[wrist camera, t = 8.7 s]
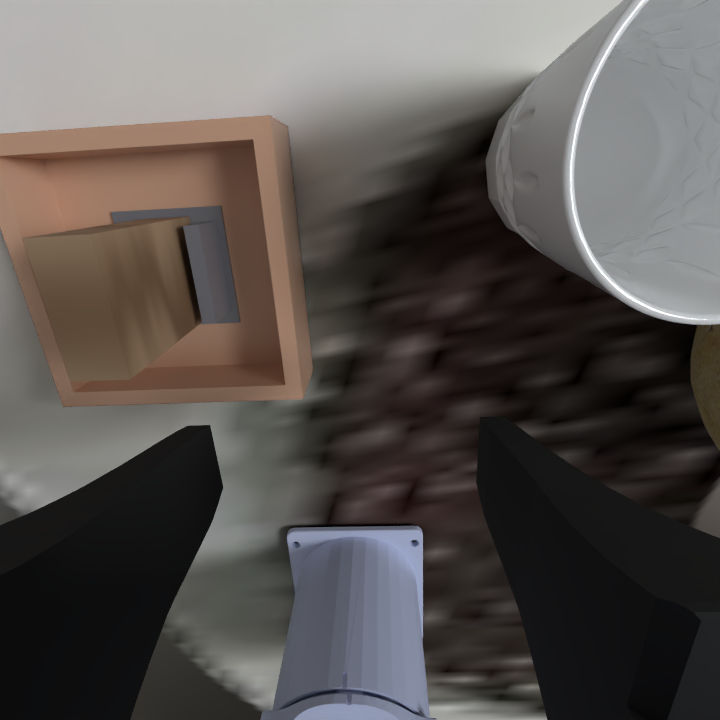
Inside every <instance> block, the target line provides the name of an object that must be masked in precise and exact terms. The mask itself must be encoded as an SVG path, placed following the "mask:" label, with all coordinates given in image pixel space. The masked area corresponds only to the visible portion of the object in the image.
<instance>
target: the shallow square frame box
mask: <svg viewBox="0 0 720 720" xmlns="http://www.w3.org/2000/svg"><path fill="white" fill-rule="evenodd" d="M187 216H189V218H190V223H191V224H189V225H185V226H183V228H184V233H185V238H186V243H187V248H188V253H189V258H190V264H191V269H192V274H193V279H194V284H195V289H196V294H197V299H198V304H199V309H200V314H201V319H202V323H200V324H199V325H198V326H197V327H195V328H194V329H193V330H192V331H190V332H189V333H188V334H187V335H185V336H184V337H183V338H182V339H180V340H179V341H178V342H177V343H175V344H174V345H173V346H172V347H170V348H169V349H168V350H167V351H165V352H164V353H163V354H162V355H160V356H159V357H158V358H157V359H155V360H154V361H153V362H152V363H150V364H149V365H148V366H147V367H145V368H144V369H143V370H142V371H140V372H139V373H138V374H137V375H135V376H134V377H133V378H132V379H130V380H104V381H76V382H70V379H69V376H68V373H67V370H66V367H65V364H64V361H63V358H62V355H61V352H60V349H59V347H58V344H57V341H56V338H55V335H54V332H53V329H52V326H51V323H50V320H49V317H48V314H47V311H46V308H45V305H44V302H43V299H42V296H41V293H40V290H39V287H38V284H37V281H36V278H35V275H34V272H33V269H32V266H31V263H30V260H29V257H28V254H27V251H26V248H25V245H24V242H23V239H22V238H26V237H32V236H39V235H45V234H51V233H58V232H64V231H70V230H77V229H83V228H90V227H96V226H102V225H109V224H115V223H121V222H128V221H134V220H140V219H151V218H169V217H187ZM0 228H1V231H2V234H3V237H4V240H5V242H6V245H7V248H8V251H9V254H10V257H11V259H12V262H13V265H14V268H15V271H16V274H17V277H18V279H19V282H20V285H21V288H22V291H23V294H24V296H25V299H26V302H27V305H28V308H29V311H30V314H31V316H32V319H33V322H34V325H35V328H36V331H37V333H38V336H39V339H40V342H41V345H42V348H43V350H44V353H45V356H46V359H47V362H48V365H49V368H50V370H51V373H52V376H53V379H54V382H55V385H56V387H57V390H58V393H59V396H60V399H61V402H62V405H63V407H73V406H104V405H135V404H166V403H197V402H228V401H259V400H290V399H303V398H304V395H305V392H306V389H307V386H308V383H309V380H310V377H311V375H312V372H313V365H312V355H311V346H310V336H309V326H308V317H307V307H306V298H305V288H304V278H303V269H302V259H301V249H300V240H299V230H298V220H297V211H296V201H295V192H294V182H293V172H292V163H291V153H290V143H289V134H288V126H286V125H285V124H283V123H281V122H280V121H278V120H277V119H275V118H273V117H272V116H270V115H269V116H254V117H240V118H225V119H210V120H196V121H181V122H166V123H152V124H137V125H122V126H107V127H93V128H78V129H63V130H49V131H34V132H19V133H5V134H0Z"/></svg>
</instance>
